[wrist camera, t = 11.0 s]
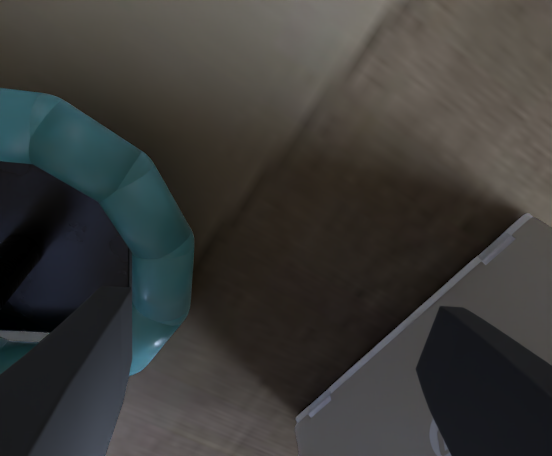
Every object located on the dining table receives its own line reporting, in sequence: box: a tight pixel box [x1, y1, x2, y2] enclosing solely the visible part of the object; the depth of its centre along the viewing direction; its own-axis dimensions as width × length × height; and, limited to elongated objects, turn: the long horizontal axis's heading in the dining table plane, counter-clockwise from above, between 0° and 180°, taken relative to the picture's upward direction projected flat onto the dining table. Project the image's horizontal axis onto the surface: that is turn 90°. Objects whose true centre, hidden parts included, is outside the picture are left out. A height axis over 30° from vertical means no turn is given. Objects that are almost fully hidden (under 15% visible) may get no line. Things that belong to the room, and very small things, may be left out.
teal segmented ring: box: [0, 88, 194, 376], centre depth 17 cm, size 14×14×2 cm
